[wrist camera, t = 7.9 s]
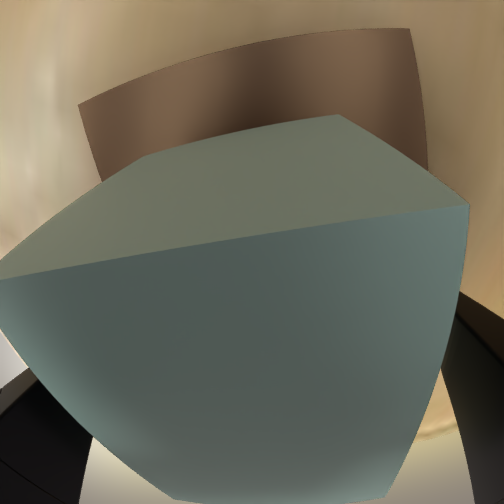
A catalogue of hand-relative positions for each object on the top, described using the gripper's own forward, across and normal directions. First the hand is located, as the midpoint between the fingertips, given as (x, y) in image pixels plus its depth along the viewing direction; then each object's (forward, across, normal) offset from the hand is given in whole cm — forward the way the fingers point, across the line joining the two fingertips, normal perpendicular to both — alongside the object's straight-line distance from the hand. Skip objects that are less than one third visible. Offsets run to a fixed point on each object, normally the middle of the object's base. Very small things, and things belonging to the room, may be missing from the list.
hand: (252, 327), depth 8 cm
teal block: (+4, 0, 0) cm, 4 cm away
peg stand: (+8, 0, 0) cm, 8 cm away
